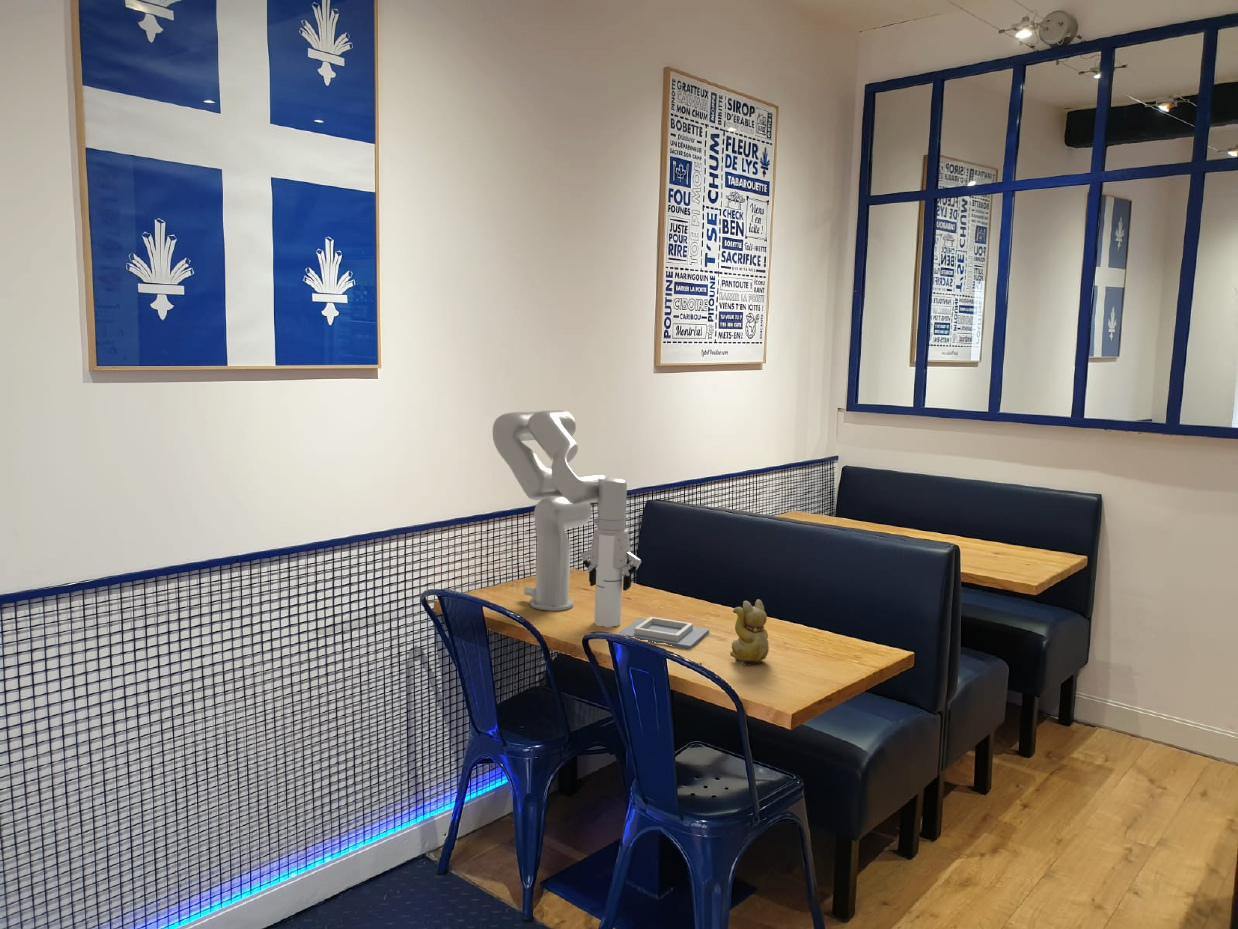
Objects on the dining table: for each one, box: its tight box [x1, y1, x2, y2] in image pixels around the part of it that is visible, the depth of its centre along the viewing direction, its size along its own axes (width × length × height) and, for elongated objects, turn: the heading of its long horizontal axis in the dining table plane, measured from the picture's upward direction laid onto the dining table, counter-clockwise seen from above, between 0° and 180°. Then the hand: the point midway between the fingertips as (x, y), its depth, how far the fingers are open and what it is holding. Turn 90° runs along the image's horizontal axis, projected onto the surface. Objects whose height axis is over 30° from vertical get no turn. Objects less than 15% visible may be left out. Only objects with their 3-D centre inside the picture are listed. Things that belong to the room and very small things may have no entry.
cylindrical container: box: [593, 534, 624, 628], centre depth 254 cm, size 7×7×25 cm
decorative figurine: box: [729, 599, 770, 666], centre depth 228 cm, size 10×8×15 cm
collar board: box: [618, 616, 710, 651], centre depth 247 cm, size 20×16×2 cm
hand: (609, 587), depth 254 cm, fingers open, 9 cm apart
